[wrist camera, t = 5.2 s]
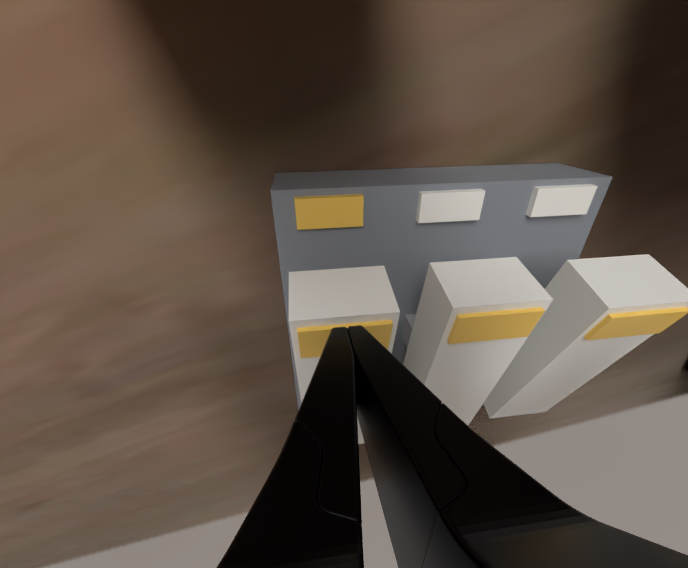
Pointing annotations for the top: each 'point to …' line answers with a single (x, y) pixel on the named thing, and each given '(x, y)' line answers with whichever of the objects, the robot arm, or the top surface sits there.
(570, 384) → the block
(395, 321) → the block
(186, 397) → the top surface
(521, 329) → the rocker middle
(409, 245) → the console
